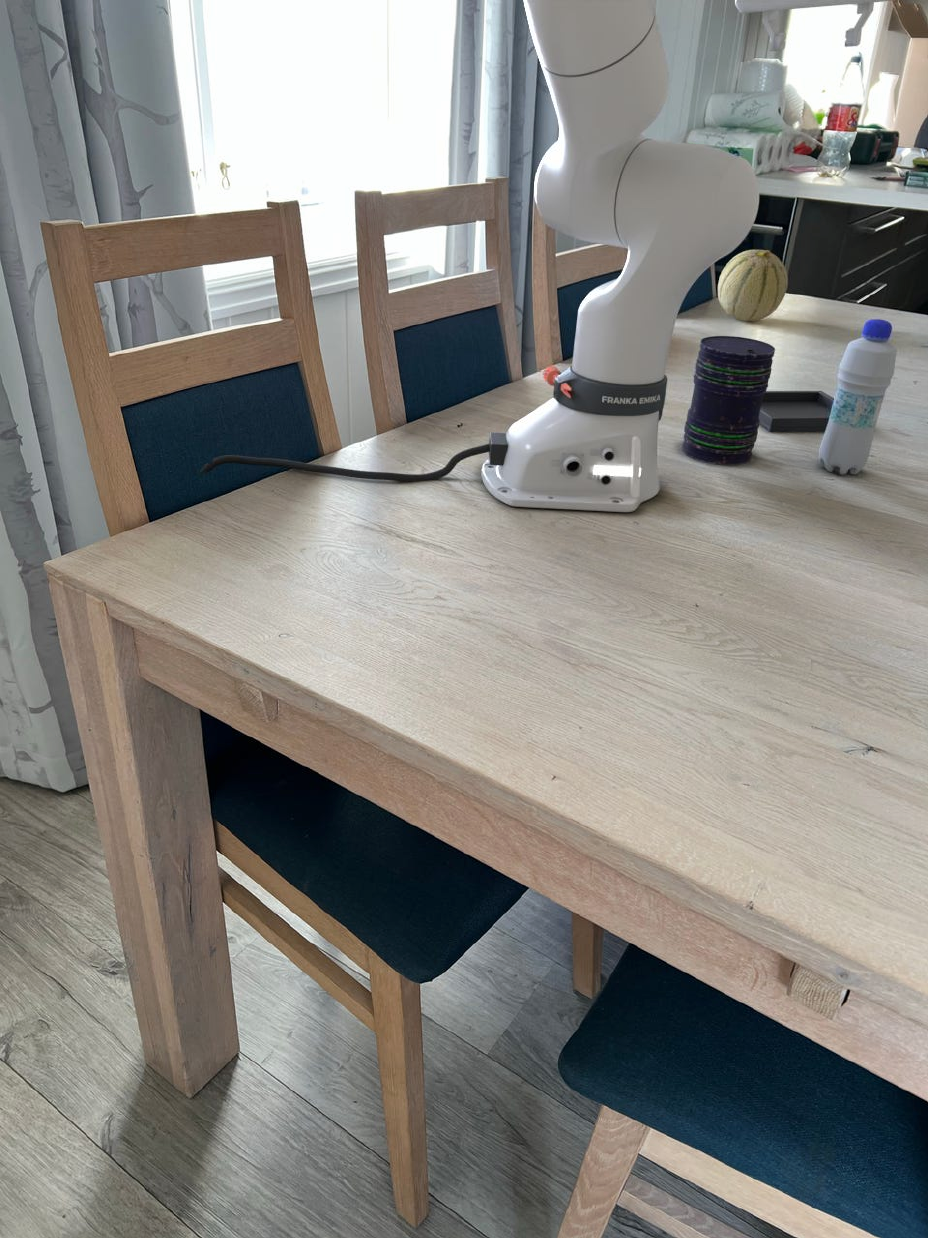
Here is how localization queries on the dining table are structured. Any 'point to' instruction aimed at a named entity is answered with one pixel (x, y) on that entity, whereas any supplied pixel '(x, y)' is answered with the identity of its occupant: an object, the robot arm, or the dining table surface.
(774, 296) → the cantaloupe
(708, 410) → the navy striped cylinder
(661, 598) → the dining table surface
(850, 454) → the bottle
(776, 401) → the tray
